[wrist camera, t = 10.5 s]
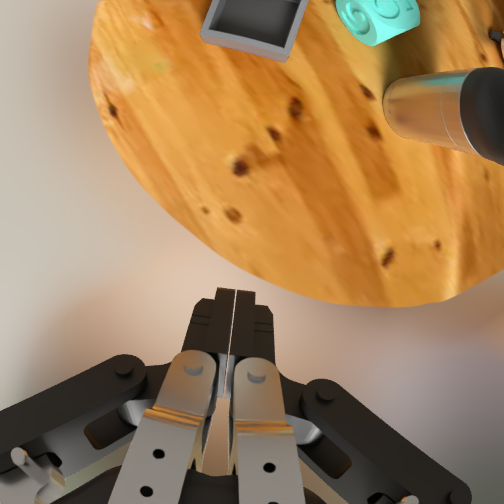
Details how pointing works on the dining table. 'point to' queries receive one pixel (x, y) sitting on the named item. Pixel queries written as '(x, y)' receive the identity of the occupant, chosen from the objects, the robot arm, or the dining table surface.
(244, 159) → the dining table surface
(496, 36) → the coffee press
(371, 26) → the decorative dice
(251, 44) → the tray
